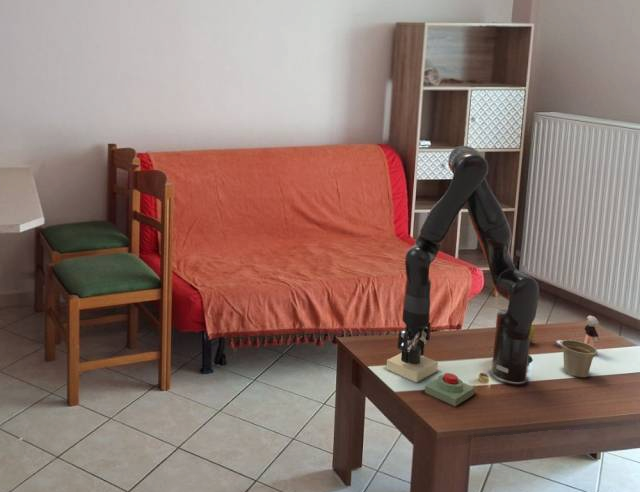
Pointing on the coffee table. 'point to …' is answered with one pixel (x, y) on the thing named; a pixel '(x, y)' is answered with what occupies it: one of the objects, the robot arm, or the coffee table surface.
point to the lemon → (532, 333)
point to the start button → (450, 378)
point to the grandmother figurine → (591, 331)
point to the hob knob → (415, 354)
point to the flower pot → (577, 357)
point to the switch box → (449, 391)
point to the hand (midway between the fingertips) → (412, 358)
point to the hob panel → (412, 367)
